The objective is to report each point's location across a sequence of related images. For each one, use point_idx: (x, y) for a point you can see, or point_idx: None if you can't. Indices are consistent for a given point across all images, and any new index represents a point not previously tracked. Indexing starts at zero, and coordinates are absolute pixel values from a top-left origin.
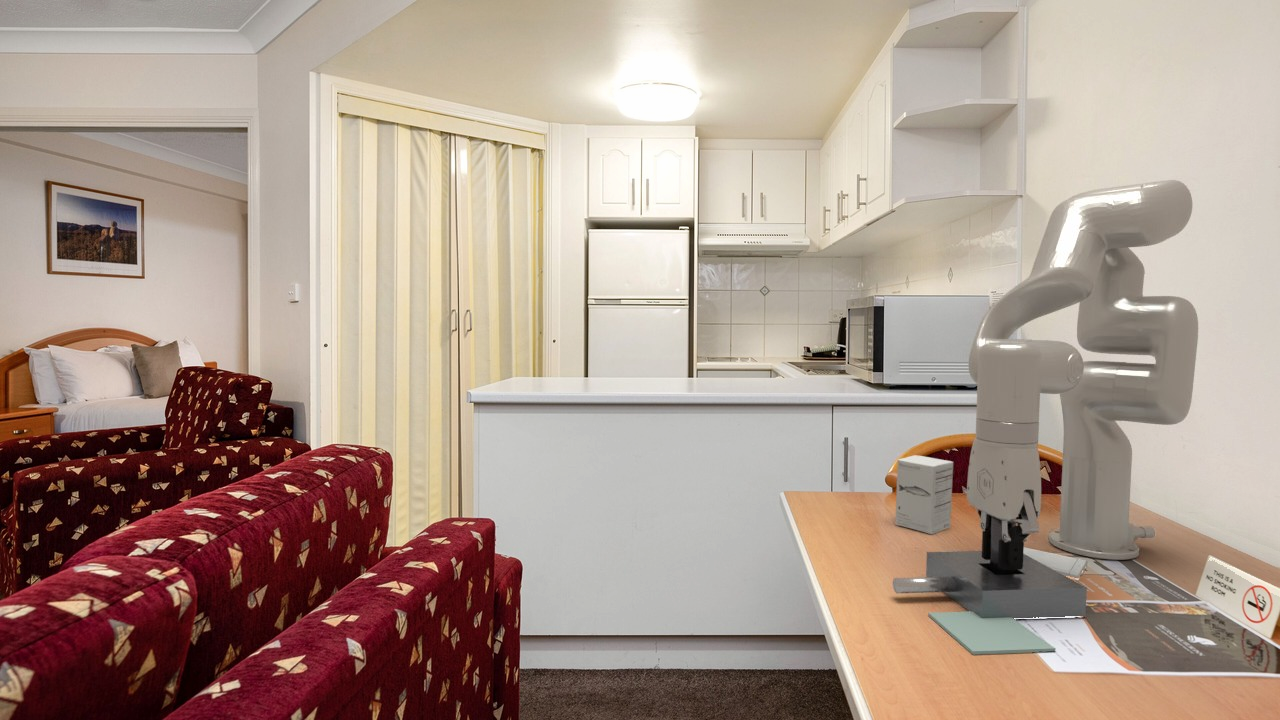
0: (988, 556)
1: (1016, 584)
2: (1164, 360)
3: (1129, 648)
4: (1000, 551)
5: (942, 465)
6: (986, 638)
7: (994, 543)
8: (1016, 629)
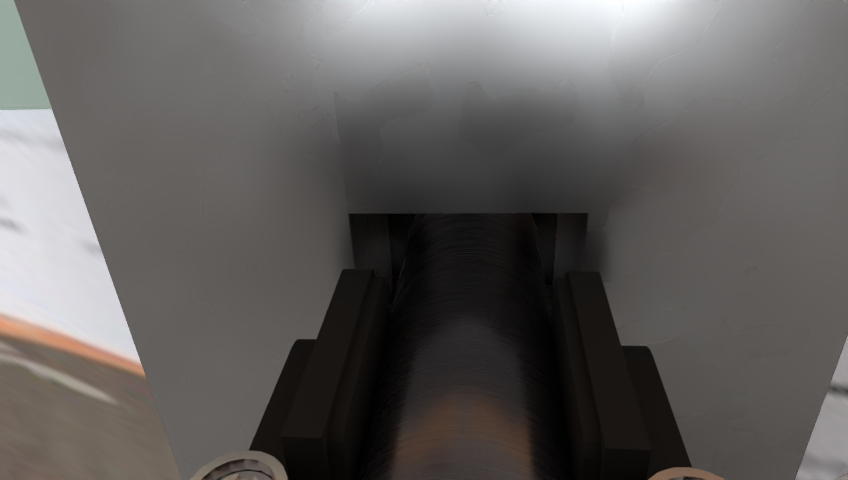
0: (555, 308)
1: (181, 246)
2: None
3: (11, 389)
4: (311, 355)
5: None
6: None
7: (434, 397)
8: (9, 43)
